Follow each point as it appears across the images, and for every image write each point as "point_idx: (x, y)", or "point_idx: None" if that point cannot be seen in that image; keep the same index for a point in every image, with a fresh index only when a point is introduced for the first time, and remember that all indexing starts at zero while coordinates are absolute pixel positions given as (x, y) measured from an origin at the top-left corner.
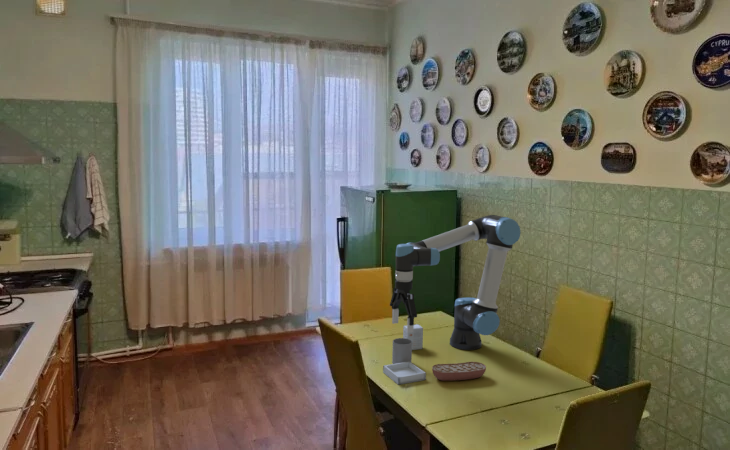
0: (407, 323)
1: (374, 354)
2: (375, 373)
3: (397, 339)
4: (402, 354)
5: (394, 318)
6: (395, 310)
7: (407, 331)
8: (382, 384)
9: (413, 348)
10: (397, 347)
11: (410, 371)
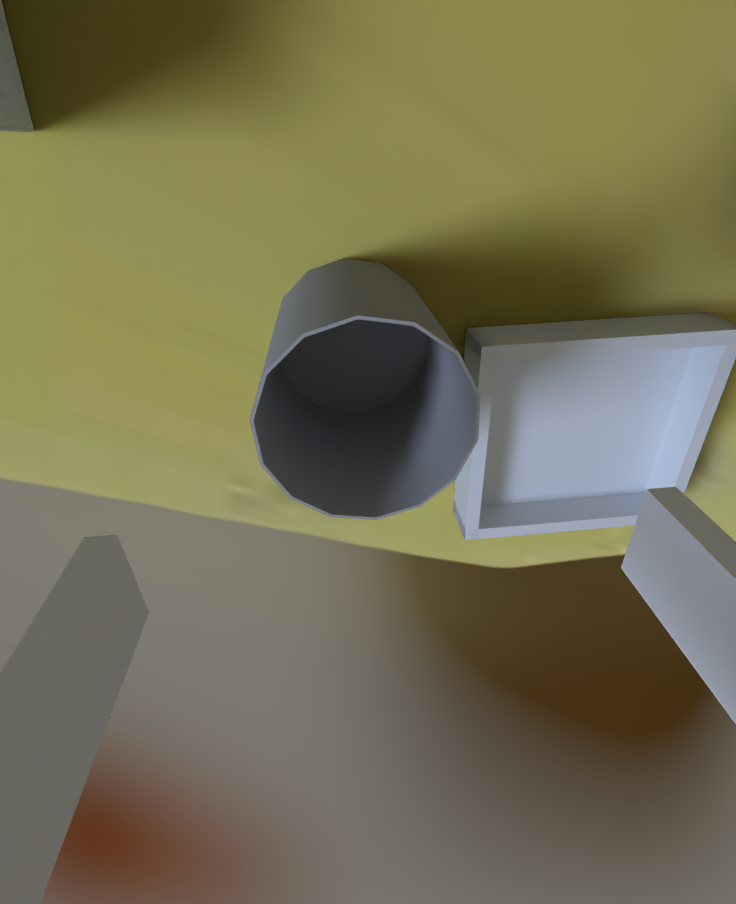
0: (730, 703)
1: (123, 463)
2: (446, 547)
3: (261, 439)
4: (439, 412)
5: (109, 677)
6: (9, 888)
7: (643, 578)
8: (589, 556)
9: (2, 32)
10: (417, 479)
11: (558, 368)
